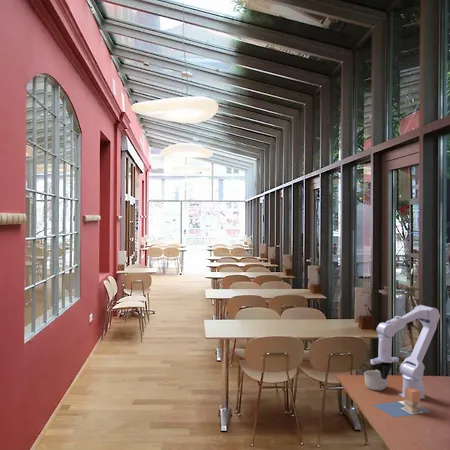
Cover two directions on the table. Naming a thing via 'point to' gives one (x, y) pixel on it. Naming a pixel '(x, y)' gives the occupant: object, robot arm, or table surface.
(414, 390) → the terracotta cube
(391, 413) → the board
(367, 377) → the teacup
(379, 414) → the table surface
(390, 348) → the robot arm
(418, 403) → the maple cube
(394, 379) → the table surface
